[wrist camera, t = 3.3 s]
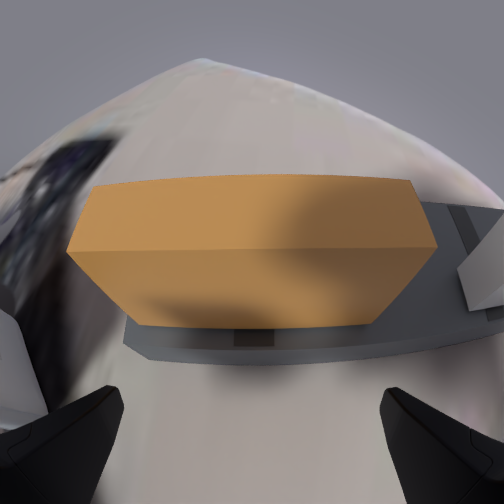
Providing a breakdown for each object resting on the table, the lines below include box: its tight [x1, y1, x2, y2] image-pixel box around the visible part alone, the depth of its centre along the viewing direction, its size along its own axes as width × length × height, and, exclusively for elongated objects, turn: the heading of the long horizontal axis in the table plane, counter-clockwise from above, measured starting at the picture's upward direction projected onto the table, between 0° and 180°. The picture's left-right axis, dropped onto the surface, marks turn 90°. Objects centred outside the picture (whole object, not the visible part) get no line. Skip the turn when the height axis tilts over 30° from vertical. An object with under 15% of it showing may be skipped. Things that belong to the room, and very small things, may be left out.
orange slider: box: [66, 174, 438, 329], centre depth 12 cm, size 3×12×7 cm, turn 90°
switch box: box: [123, 202, 504, 365], centre depth 18 cm, size 10×30×4 cm, turn 90°
